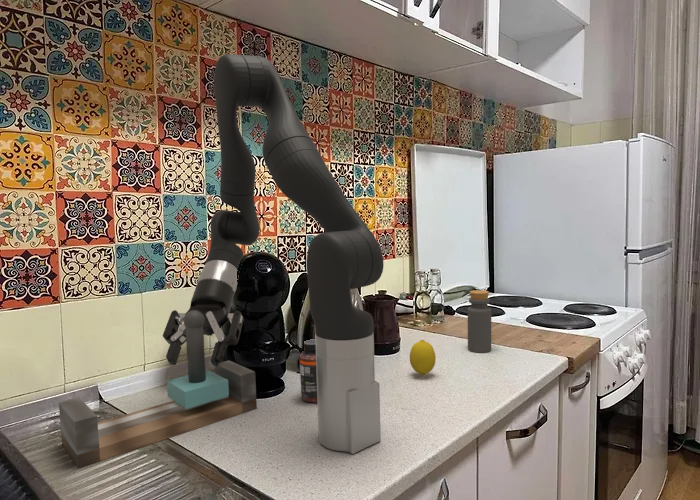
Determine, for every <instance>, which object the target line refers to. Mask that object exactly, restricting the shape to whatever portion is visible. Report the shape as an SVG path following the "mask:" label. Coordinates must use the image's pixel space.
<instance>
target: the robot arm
mask: <svg viewBox="0 0 700 500" xmlns="http://www.w3.org/2000/svg"><path fill="white" fill-rule="evenodd" d="M213 76H214V78H213V79H214V80H213V83H214V85H213V86H214V97H215V100H214V101H215V109H216V117H217V118H216V119H217V127H218V128H217V129H218V130H217V131H218V137H219V147H220V186H219V187H220V188H219V191H220V192H219V196H220V200H221V202H223V204H225V205H227V206H229V207H232V208H233V209H236V210H237V211H233V210H228V209H220V210H217V211H216V212H215V213H214V214H213V215H212V217H211V219H210V248H209V252H208V255H207V257H206V260H205V264H204V266H203V268H202V269H201V272H200V275H199V278H198V280H197V283H196V285H195V288H194V291H193V293H192V294H193V295H192V297H191V300H190V307H189V309H188V310H187V311H185V312H178V310H176V309H175V310H172V311H171V313H170V315H169V318H168V320H167V323H166V324H165V325H166V326H165V328H164V331H163V334H162V338H163V339H164V340H165V341H166V342H167V344H169V347H168V350H167V352H166V355H165V357H166V360H167V362H168V363H169V365H171V366H175V365H177V364H178V363H177V362H178V360H179V356H180V354H181V350H182V346H183V345H184V344H185V343H186V327H185V325H184V322H183V320H184V317H185V315H186V314H187V313H188V312H190V311H193V310H196V311H199V312H201V313H202V314H203V316H204V319H205V320H204V324H203V333H204V336H210V337H211V336H213V335H215V337H216V339H217V342H215V344H214V348H213V351H212V355H211V357H210V363H211V364H212V365H213V367H215V366H218V365H219V363H221V362H224V357H225V352H226V349H227V348H228V347H229V346H231V345H232V346H236V345H237V344H239V340H240V336H241V332H242V328H243V323H244V316H243V315H242V312H241V311H240V310H235V311H234V312H232V313H231V312H230V311H231V308H232V304H233V301H234V296H235V293H236V291H237V289H238V287H237V286H238V282H237V280H239V278H238V279H237V271H238V270H237V269H238V267H239V264H240V261H241V260H242V258H243V259H244V251H243V249H242V248H241V247H240V245H242V246H251V245H253V244H254V243H256V241H257V240H258V238H259V235H260V222H259V218H258V214H257V209H256V204H255V186H256V163H255V161H254V158H253V155H252V153H251V150H250V149H249V147H248V145H247V143H246V141H245V139H244V138H243V136H242V134H241V131H240V128H239V125H238V119H237V111H238V107H257V108H259V109H262V111H263V112H264V113H265V115H266V117H267V120H268V125H267V129H266V132H265V135H264V140H263V144H262V158H263V161H264V164H265V166H266V168H267V169H268V172H269V174H270V175H271V177H272V180H273V181H274V183H275V185H276V186H277V188H278V189H279V190H280V192H282V194H283V195H284V196H285V197H287V199H289V200H290V201H292V202H293V203H294V204H295V205H296V206H297V207H298V208H300V209H302V211H304V212H305V213H306V214H308V215H309V216H311V217H312V218H314V220H315V221H316V222H317V223H318V224H319V225H320V226H321V228H322V229H323V230H324V231H325V232H321V233H318V234H317V235H315V236H314V237H313V238H312V240H311V241H310V243H309V245H308V249H307V253H306V275H307V276H306V277H307V278H306V279H307V286H308V299H309V300H308V301H309V309H310V314H311V317H312V321H313V324H314V326H315V340H316V373H317V402H316V404H317V422H318V423H317V424H318V425H317V426H318V441H319V443H320V444H321V445H322V447H325V448H327V449H329V450H333V451H338V452H347V453H350V454H355V453H358V452H360V451H362V450H364V449H367V448H369V447H370V446H373V445H375V444H376V443H379V442H381V440H382V437H381V436H382V435H381V433H382V432H381V399H380V396H381V395H380V393H381V392H380V390H381V388H380V383H379V381H376V380H375V379H376V378H375V375H376V373H375V333H374V332H375V331H374V329H375V328H374V327H375V325H374V317H373V315H372V313H370V312H368V311H366V310H363V309H358V308H356V307H355V306H353V301H352V295H351V290H354V289H361V288H365V287H368V286H371V285H374V284H375V283H377V282H378V281H379V280H380V279H381V276H382V274H383V272H384V266H385V265H384V256H383V251H382V249H381V246H380V244H379V242H378V240H377V239H376V237H375V235H374V234H373V233H372V231H371V230H370V228H369V227H368V225H367V224H366V222H364V221H363V219H362V217H361V216H360V215H359V214H358V212H357V211H356V210H355V208H354V206H353V205H351V203H350V202H349V200H348V198H347V197H346V196H345V194H344V192H343V191H342V188H341V187H340V186H339V184H338V182H337V181H336V179H335V178H334V176H333V175H332V173H331V171H330V170H329V168H328V165H327V164H326V163H325V160H324V158H323V157H322V155H321V153H320V151H319V150H318V148H317V145H316V144H315V143H314V141H313V139H312V138H311V136H310V135H309V134H308V132H307V130H306V128H305V126H304V125H303V123H302V121H301V119H300V117H299V116H298V114H297V112H296V109H294V107H293V105H292V102H291V100H290V97H289V95H288V94H287V91H286V88H285V86H284V83H283V82H282V79H281V77H280V74H279V73H278V71H277V69H276V67H275V66H274V64H273V63H272V62H271V60H270V59H268V58H266V57H263V56H259V55H251V54H250V55H247V54H246V55H245V54H234V53H233V54H232V53H230V54H229V53H227V54H226V53H225V54H223V55H221V56H220V57H219V58H218V59H217V62H216V64H215V68H214V75H213ZM228 322H230V327H229V331H228V334H227V335H225V334H224V331H223V329H222V328H223V327H224V326H225V325H226V324H228Z"/></svg>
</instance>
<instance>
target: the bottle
mask: <svg viewBox="0 0 700 500" xmlns="http://www.w3.org/2000/svg"><path fill="white" fill-rule="evenodd" d="M489 293H490V291H488V290H484V289H479V290H478V289H477V290H475V289H473V290H470V291H469V294H470V295H469V296H470V297H469V298H468V303H470V305H471V306H469V307H468V308H467V349H468V351H469V352H472V353H477V354H484V353H490V352H491V351H492V308H491V307H489V306H488V304H490V303H491V302H490V301H491V299H490V298H489V295H490V294H489Z"/></svg>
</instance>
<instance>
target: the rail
mask: <svg viewBox="0 0 700 500" xmlns="http://www.w3.org/2000/svg"><path fill="white" fill-rule="evenodd" d="M214 369H215V374H217V375H219V376H221V377H223V378H225V379H227V380H228V389H229V396H228V397H224V398H221V399H218V400H214V401H211V402H208V403H204V404H201V405H198V406H195V407H191V408H188V409H185V408H184V407H182V406H181V405H179V404H178V403H177V402H175V401H174V400H170V401H168V402H164V403H161V404H158V405H155V406H151V407H148V408H147V407H146V408H144V409H140V410H137V411H133V412H130V413H129V412H128V413H126V414H123V415H120V416H116V417H113V418H109V419H105V420H102V421H98V415H97V414H96V413H95V412H94V411H93V410H92V409H91V408H90V407H89V405H87V403H85V401H84V400H82V399H81V397H77V398H74V399H73V398H72V399H69V400H66V401H65V400H64V401H61V402H58V410H59V422H60V434H61V446H62V447H63V448H64V450H65V452H66V454H68V456H69V457H70V459H71V460H72V461H73V463H74V465H75V466H76V467H77V469H80V468H84V467H86V466H89V465H93V464H96V463H98V462H102V461H104V460H107V459H111V458H114V457H116V456H119V455H122V454H125V453H128V452H131V451H134V450H137V449H139V448H143V447H145V446H146V447H147V446H149V445H151V444H155V443H158V442H160V441H163V440H166V439H169V438H173V437H176V436H178V435H182V434H185V433H187V432H190V431H193V430H195V429H200V428H203V427H205V426H207V425H208V426H209V425H211V424H214V423H218V422H220V421H223V420H226V419H229V418H232V417H235V416H238V415H241V414H244V413H247V412H250V411H253V410H255V409H257V408H258V406H257V385H256V383H257V381H256V371H255V370H252V369H250V368H247V367H245V366H243V365H241V364H238V363H237V362H235V361H232V360H226V361H225V360H223V361H222V362H221V363H219V365H218V366H214Z"/></svg>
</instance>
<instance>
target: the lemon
mask: <svg viewBox="0 0 700 500" xmlns="http://www.w3.org/2000/svg"><path fill="white" fill-rule="evenodd" d="M436 359H437V358H436V353H435V349H434V346H433V345H432V344H430V343H429V342H428V341H425V340H424V339H420V341H416V343H414V344H413V345H412V346H411V349H410V352H409V362H410V366H411V368H412V369H413V371H415V372H416V373H418V374H420V376H421V377H424V376H426V375H427V374H428V373H430V372H432V370H433V369H434V367H435V365H436Z"/></svg>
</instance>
